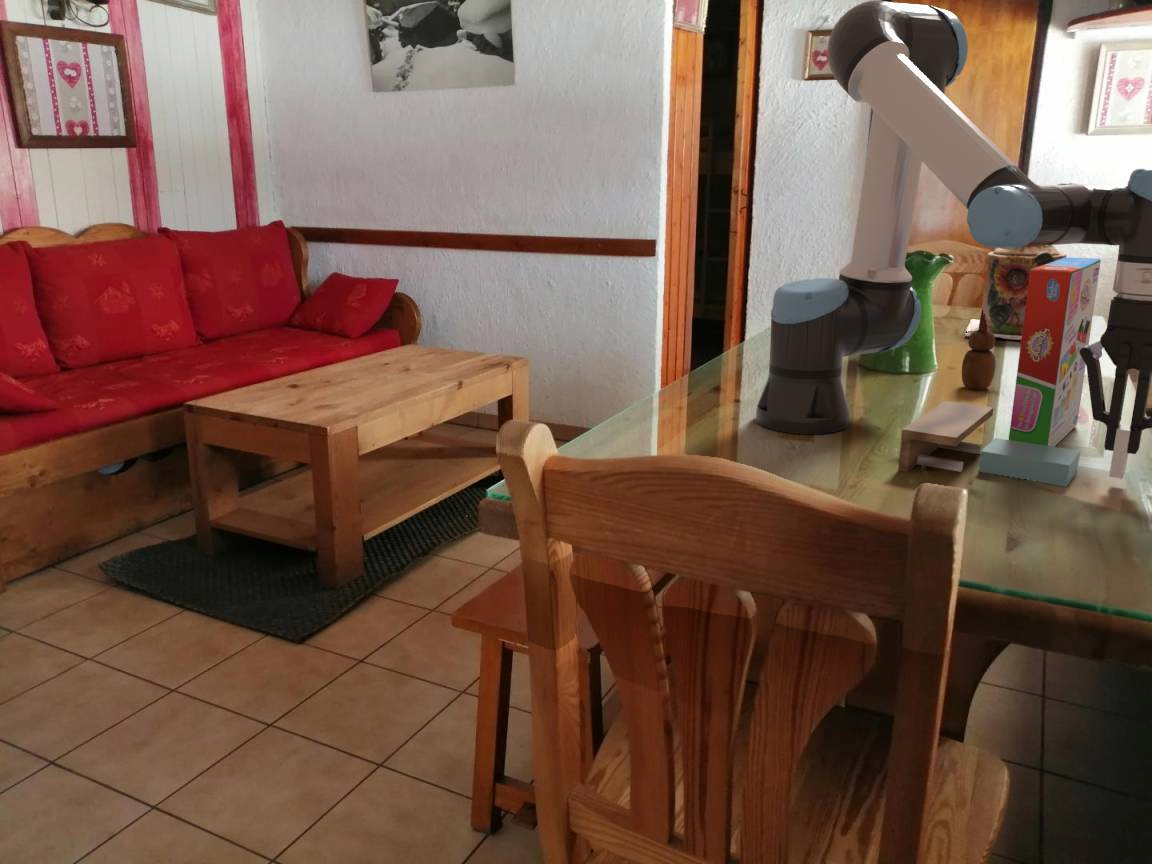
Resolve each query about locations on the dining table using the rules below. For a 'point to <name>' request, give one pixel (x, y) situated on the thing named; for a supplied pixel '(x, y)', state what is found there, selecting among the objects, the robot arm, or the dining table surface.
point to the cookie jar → (1010, 288)
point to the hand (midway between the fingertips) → (1117, 474)
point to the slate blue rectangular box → (1029, 461)
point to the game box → (1053, 350)
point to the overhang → (941, 435)
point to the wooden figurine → (979, 358)
